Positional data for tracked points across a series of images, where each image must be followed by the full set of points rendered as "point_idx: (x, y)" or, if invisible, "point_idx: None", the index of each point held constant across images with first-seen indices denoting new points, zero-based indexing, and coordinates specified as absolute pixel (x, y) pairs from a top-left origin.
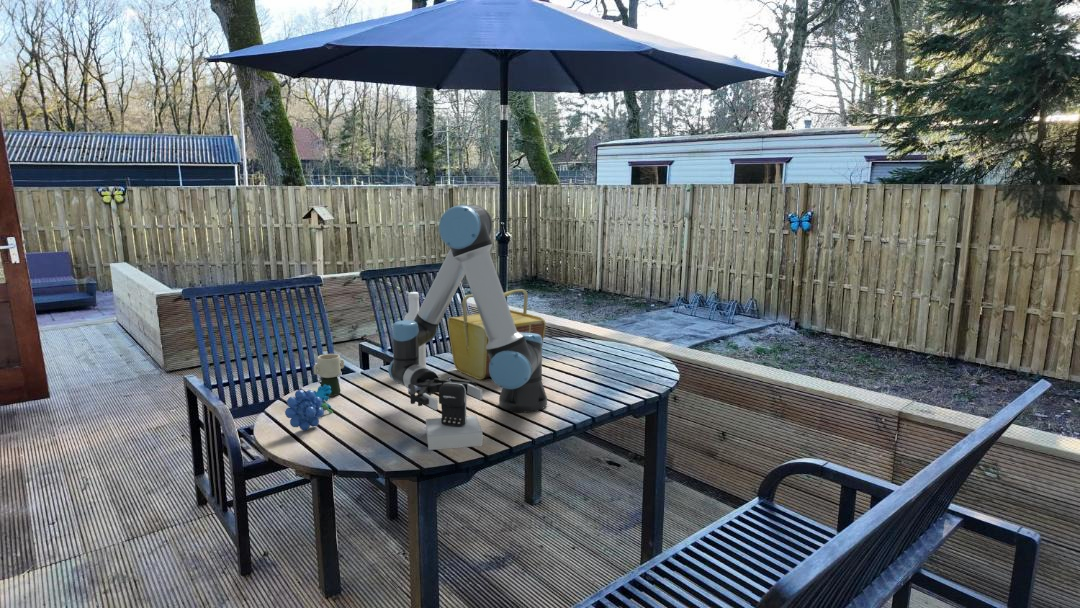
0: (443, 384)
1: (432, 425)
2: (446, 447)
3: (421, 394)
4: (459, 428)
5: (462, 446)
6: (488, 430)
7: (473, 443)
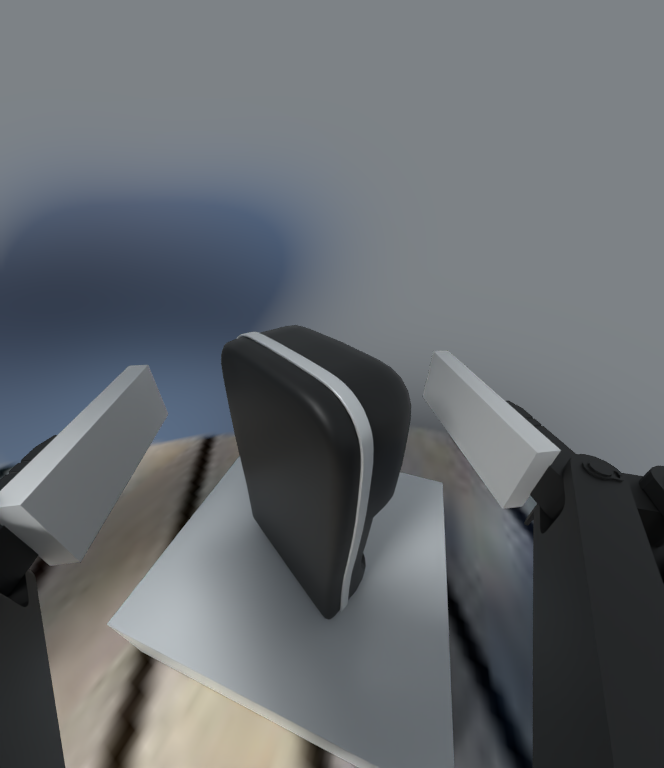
0: (368, 387)
1: (414, 593)
2: None
3: (573, 458)
4: None
5: None
6: (122, 595)
7: None
